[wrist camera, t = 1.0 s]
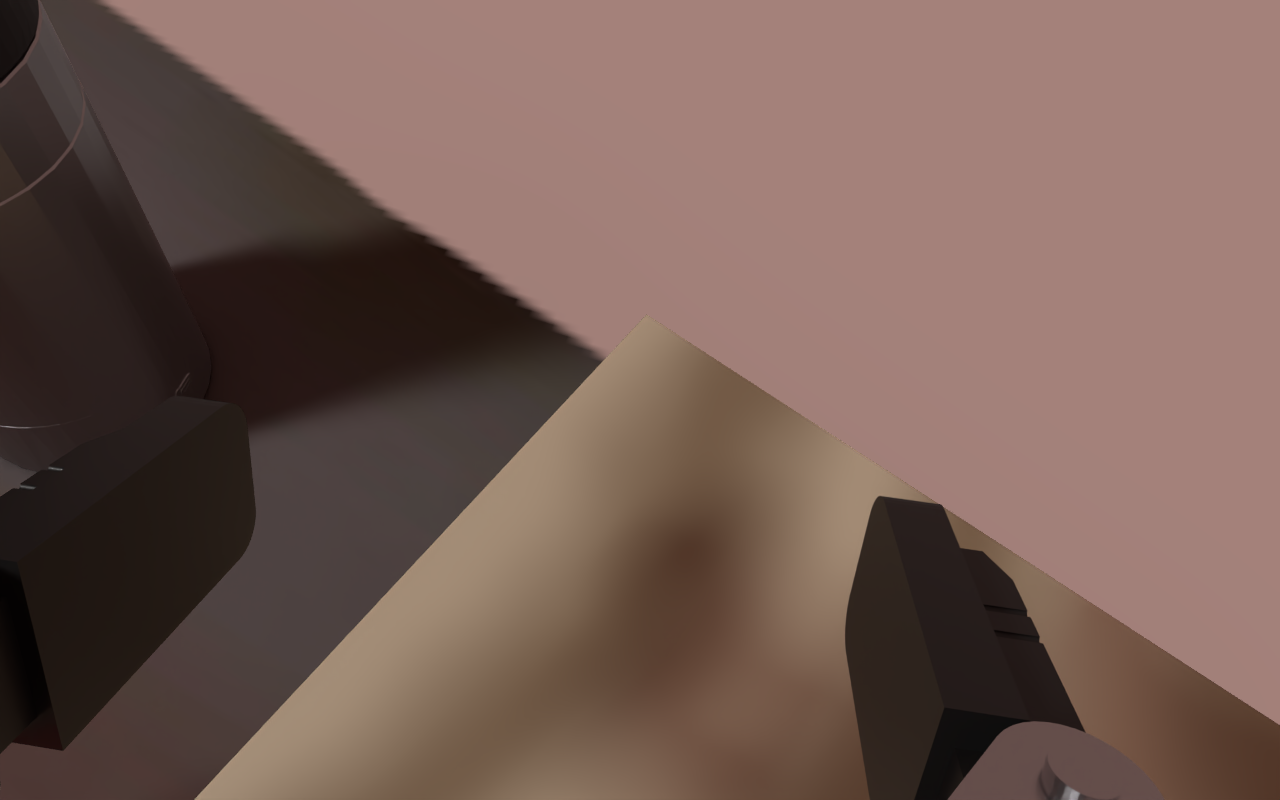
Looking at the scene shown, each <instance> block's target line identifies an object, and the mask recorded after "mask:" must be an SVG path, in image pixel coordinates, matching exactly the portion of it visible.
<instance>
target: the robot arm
mask: <svg viewBox="0 0 1280 800" xmlns="http://www.w3.org/2000/svg"><path fill="white" fill-rule="evenodd" d="M211 368H212V367H211V359H210V351H209V348H208V346H207V343H206V341H205V339H204V337H203V334H202V332H201V330H200V328H199V326H198V324H197V322H196V320H195V318H194V316H193V313H192V311H191V309H190V307H189V305H188V303H187V301H186V299H185V297H184V295H183V293H182V290H181V288H180V286H179V284H178V281H177V279H176V277H175V275H174V273H173V271H172V269H171V267H170V265H169V263H168V261H167V259H166V257H165V255H164V253H163V251H162V249H161V247H160V244H159V242H158V240H157V238H156V236H155V234H154V232H153V230H152V228H151V226H150V224H149V222H148V220H147V218H146V216H145V214H144V212H143V210H142V208H141V205H140V203H139V201H138V199H137V197H136V195H135V193H134V191H133V189H132V187H131V185H130V183H129V181H128V179H127V177H126V175H125V173H124V171H123V168H122V166H121V164H120V162H119V160H118V158H117V156H116V154H115V152H114V150H113V148H112V146H111V144H110V142H109V140H108V138H107V136H106V134H105V132H104V129H103V127H102V125H101V123H100V121H99V119H98V117H97V115H96V113H95V111H94V109H93V107H92V105H91V103H90V101H89V99H88V97H87V95H86V92H85V90H84V88H83V86H82V84H81V83H80V81H79V79H78V77H77V75H76V73H75V71H74V69H73V67H72V65H71V63H70V61H69V59H68V57H67V55H66V53H65V51H64V49H63V46H62V44H61V42H60V40H59V38H58V36H57V34H56V32H55V30H54V28H53V26H52V24H51V22H50V20H49V18H48V16H47V14H46V12H45V10H44V7H43V5H42V3H41V1H40V0H0V456H1V457H2V458H3V459H5V460H7V461H9V462H11V463H13V464H15V465H17V466H19V467H21V468H24V469H28V470H32V471H36V472H37V473H36V474H34V475H33V476H31V477H30V478H28V479H27V480H25V481H24V482H22V483H21V486H20V488H19V489H15V488H13V489H11V490H10V491H8V492H7V493H5V494H4V495H2V496H1V497H0V753H1V752H2V751H3V750H4V749H5V748H6V747H7V746H8V745H9V744H10V743H11V742H13V743H19V744H25V745H31V746H37V747H43V748H49V749H55V750H61V751H63V750H64V749H65V748H66V747H67V746H68V745H69V744H70V743H71V742H72V741H73V740H74V738H75V737H76V736H77V735H78V734H79V733H80V732H81V731H82V730H83V729H84V728H85V726H86V725H87V724H88V723H89V722H90V721H91V720H92V719H93V718H94V717H95V716H96V715H97V713H98V712H99V711H100V710H101V709H102V708H103V707H104V706H105V705H106V704H107V703H108V701H109V700H110V699H111V698H112V697H113V696H114V695H115V694H116V693H117V692H118V691H119V690H120V688H121V687H122V686H123V685H124V684H125V683H126V682H127V681H128V680H129V679H130V678H131V677H132V675H133V674H134V673H135V672H136V671H137V670H138V669H139V668H140V667H141V666H142V665H143V663H144V662H145V661H146V660H147V659H148V658H149V657H150V656H151V655H152V654H153V653H154V652H155V650H156V649H157V648H158V647H159V646H160V645H161V644H162V643H163V642H164V641H165V640H166V638H167V637H168V636H169V635H170V634H171V633H172V632H173V631H174V630H175V629H176V628H177V627H178V625H179V624H180V623H181V622H182V621H183V620H184V619H185V618H186V617H187V616H188V615H189V613H190V612H191V611H192V610H193V609H194V608H195V607H196V606H197V605H198V604H199V603H200V602H201V600H202V599H203V598H204V597H205V596H206V595H207V594H208V593H209V592H210V591H211V590H212V588H213V587H214V586H215V585H216V584H217V583H218V582H219V581H220V580H221V579H222V578H223V577H224V575H225V574H226V573H227V572H228V571H229V570H230V569H231V568H232V567H233V566H234V565H235V563H236V562H237V561H238V560H239V559H240V558H241V557H242V555H243V554H244V552H245V551H246V549H247V547H248V545H249V542H250V540H251V537H252V534H253V530H254V525H255V517H256V508H255V497H254V487H253V478H252V468H251V458H250V448H249V438H248V428H247V421H246V417H245V414H244V412H243V410H242V409H241V408H240V407H239V406H238V405H236V404H234V403H227V402H220V401H213V400H206V399H203V398H204V396H205V394H206V391H207V389H208V386H209V381H210V374H211ZM1027 611H1028V610H1027V608H1026V606H1025V604H1024V602H1023V600H1022V598H1021V596H1020V594H1019V592H1018V590H1017V587H1016V585H1015V583H1014V581H1013V580H1012V579H1011V578H1010V577H1009V576H1008V575H1007V574H1006V573H1005V572H1004V571H1003V570H1002V569H1001V568H1000V567H999V566H998V565H997V564H996V563H995V562H994V561H992V560H991V559H990V558H989V557H988V556H987V555H986V554H985V553H984V552H983V551H978V550H971V549H964V548H960V546H959V544H958V541H957V539H956V536H955V534H954V531H953V529H952V526H951V524H950V521H949V519H948V516H947V514H946V512H945V509H944V507H943V506H942V505H940V504H935V503H928V502H921V501H914V500H907V499H900V498H893V497H885V496H878V497H877V498H876V500H875V501H874V504H873V506H872V509H871V512H870V516H869V520H868V524H867V528H866V532H865V536H864V540H863V544H862V548H861V552H860V556H859V560H858V564H857V568H856V572H855V576H854V580H853V584H852V588H851V592H850V596H849V601H848V606H847V613H846V623H845V649H846V656H847V662H848V668H849V674H850V681H851V687H852V693H853V699H854V705H855V711H856V718H857V724H858V730H859V736H860V742H861V748H862V755H863V761H864V767H865V773H866V779H867V785H868V792H869V798H870V800H1164V798H1163V796H1162V794H1161V793H1160V791H1159V790H1158V788H1157V787H1156V785H1155V784H1154V783H1153V781H1152V780H1151V779H1150V778H1149V777H1148V776H1147V775H1146V774H1145V772H1144V771H1143V770H1142V769H1140V768H1139V767H1138V766H1137V765H1136V764H1135V763H1134V762H1133V761H1132V760H1130V759H1129V758H1128V757H1126V756H1125V755H1124V754H1122V753H1121V752H1120V751H1118V750H1117V749H1115V748H1114V747H1112V746H1110V745H1109V744H1107V743H1106V742H1104V741H1102V740H1100V739H1098V738H1096V737H1094V736H1092V735H1090V734H1088V733H1086V732H1085V730H1084V728H1083V726H1082V724H1081V722H1080V720H1079V717H1078V715H1077V713H1076V711H1075V709H1074V707H1073V705H1072V703H1071V701H1070V699H1069V696H1068V694H1067V692H1066V690H1065V688H1064V686H1063V684H1062V682H1061V680H1060V678H1059V675H1058V673H1057V671H1056V669H1055V667H1054V665H1053V663H1052V661H1051V659H1050V657H1049V655H1048V652H1047V650H1046V648H1045V646H1044V644H1043V643H1040V642H1039V639H1040V636H1039V634H1038V631H1037V629H1036V627H1035V625H1034V623H1033V621H1032V619H1031V617H1027ZM0 785H1V783H0Z"/></svg>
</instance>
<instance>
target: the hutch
mask: <svg viewBox="0 0 1280 800" xmlns="http://www.w3.org/2000/svg"><path fill="white" fill-rule="evenodd" d="M878 496H885V497H893V498H900V499H907V500H914V501H921V502H928V503H935V504H938V503H936V502H934V501H933V500H931V499H930V498H928V497H927V496H925V495H924V494H922V493H921V492H919V491H918V490H916V489H915V488H913V487H911V486H910V485H908V484H906V483H905V482H904V481H902V480H901V479H899V478H898V477H896V476H894V475H893V474H891V473H890V472H888V471H887V470H885V469H883V468H882V467H881V466H879V465H878V464H876V463H874V462H873V461H871V460H870V459H868V458H867V457H865V456H864V455H862V454H861V453H859V452H857V451H856V450H854V449H853V448H851V447H850V446H848V445H847V444H845V443H844V442H842V441H841V440H839V439H837V438H836V437H834V436H833V435H831V434H829V433H828V432H827V431H825V430H823V429H822V428H820V427H819V426H817V425H816V424H814V423H813V422H811V421H810V420H808V419H806V418H805V417H803V416H802V415H800V414H799V413H797V412H796V411H794V410H793V409H791V408H790V407H788V406H787V405H785V404H783V403H782V402H780V401H779V400H777V399H776V398H774V397H772V396H771V395H770V394H768V393H766V392H765V391H763V390H762V389H760V388H759V387H757V386H756V385H754V384H753V383H751V382H750V381H748V380H746V379H745V378H743V377H742V376H740V375H739V374H737V373H736V372H734V371H733V370H731V369H729V368H728V367H726V366H725V365H723V364H722V363H720V362H719V361H717V360H716V359H714V358H713V357H711V356H709V355H708V354H706V353H705V352H703V351H701V350H700V349H699V348H697V347H696V346H694V345H692V344H691V343H689V342H688V341H686V340H685V339H683V338H682V337H680V336H679V335H677V334H676V333H674V332H672V331H671V330H669V329H668V328H666V327H665V326H663V325H662V324H660V323H659V322H657V321H656V320H654V319H652V318H651V317H649V316H648V315H646V316H645V317H644V318H643V319H642V320H641V321H640V322H639V323H638V324H637V326H636V327H635V328H634V329H633V330H632V331H631V332H630V333H629V334H628V335H627V336H626V337H625V338H624V339H623V341H622V342H621V343H620V344H619V345H618V346H617V347H616V348H615V349H614V350H613V351H612V352H611V353H610V354H609V355H608V356H607V358H606V359H605V360H604V361H603V362H602V363H601V364H600V365H599V366H598V367H597V368H596V369H595V370H594V371H593V373H592V374H591V375H590V376H589V377H588V378H587V379H586V380H585V381H584V382H583V383H582V384H581V385H580V387H579V388H578V389H577V390H576V391H575V392H574V393H573V394H572V395H571V396H570V397H569V398H568V399H567V400H566V402H565V403H564V404H563V405H562V406H561V407H560V408H559V409H558V410H557V411H556V412H555V413H554V414H553V415H552V417H551V418H550V419H549V420H548V421H547V422H546V423H545V424H544V425H543V426H542V427H541V428H540V429H539V430H538V432H537V433H536V434H535V435H534V436H533V437H532V438H531V439H530V440H529V441H528V442H527V443H526V444H525V445H524V447H523V448H522V449H521V450H520V451H519V452H518V453H517V454H516V455H515V456H514V457H513V458H512V459H511V461H510V462H509V463H508V464H507V465H506V466H505V467H504V468H503V469H502V470H501V471H500V472H499V473H498V474H497V476H496V477H495V478H494V479H493V480H492V481H491V482H490V483H489V484H488V485H487V486H486V487H485V488H484V489H483V491H482V492H481V493H480V494H479V495H478V496H477V497H476V498H475V499H474V500H473V501H472V502H471V503H470V504H469V506H468V507H467V508H466V509H465V510H464V511H463V512H462V513H461V514H460V515H459V516H458V517H457V518H456V520H455V521H454V522H453V523H452V524H451V525H450V526H449V527H448V528H447V529H446V530H445V531H444V532H443V533H442V535H441V536H440V537H439V538H438V539H437V540H436V541H435V542H434V543H433V544H432V545H431V546H430V547H429V548H428V550H427V551H426V552H425V553H424V554H423V555H422V556H421V557H420V558H419V559H418V560H417V561H416V562H415V563H414V565H413V566H412V567H411V568H410V569H409V570H408V571H407V572H406V573H405V574H404V575H403V576H402V577H401V578H400V580H399V581H398V582H397V583H396V584H395V585H394V586H393V587H392V588H391V589H390V590H389V591H388V592H387V594H386V595H385V596H384V597H383V598H382V599H381V600H380V601H379V602H378V603H377V604H376V605H375V606H374V607H373V609H372V610H371V611H370V612H369V613H368V614H367V615H366V616H365V617H364V618H363V619H362V620H361V621H360V622H359V624H358V625H357V626H356V627H355V628H354V629H353V630H352V631H351V632H350V633H349V634H348V635H347V636H346V637H345V639H344V640H343V641H342V642H341V643H340V644H339V645H338V646H337V647H336V648H335V649H334V650H333V651H332V652H331V654H330V655H329V656H328V657H327V658H326V659H325V660H324V661H323V662H322V663H321V664H320V665H319V666H318V668H317V669H316V670H315V671H314V672H313V673H312V674H311V675H310V676H309V677H308V678H307V679H306V680H305V681H304V683H303V684H302V685H301V686H300V687H299V688H298V689H297V690H296V691H295V692H294V693H293V694H292V695H291V696H290V698H289V699H288V700H287V701H286V702H285V703H284V704H283V705H282V706H281V707H280V708H279V709H278V710H277V711H276V713H275V714H274V715H273V716H272V717H271V718H270V719H269V720H268V721H267V722H266V723H265V724H264V725H263V726H262V728H261V729H260V730H259V731H258V732H257V733H256V734H255V735H254V736H253V737H252V738H251V739H250V740H249V742H248V743H247V744H246V745H245V746H244V747H243V748H242V749H241V750H240V751H239V752H238V753H237V754H236V755H235V757H234V758H233V759H232V760H231V761H230V762H229V763H228V764H227V765H226V766H225V767H224V768H223V769H222V770H221V772H220V773H219V774H218V775H217V776H216V777H215V778H214V779H213V780H212V781H211V782H210V783H209V784H208V785H207V787H206V788H205V789H204V790H203V791H202V792H201V793H200V794H199V795H198V796H197V797H196V798H195V799H194V800H870V798H869V792H868V785H867V779H866V773H865V767H864V761H863V755H862V748H861V742H860V736H859V730H858V724H857V718H856V711H855V705H854V699H853V693H852V687H851V681H850V674H849V668H848V662H847V656H846V649H845V623H846V613H847V606H848V601H849V596H850V592H851V588H852V584H853V580H854V576H855V572H856V568H857V564H858V560H859V556H860V552H861V548H862V544H863V540H864V536H865V532H866V528H867V524H868V520H869V516H870V512H871V509H872V506H873V504H874V501H875V500H876V498H877V497H878ZM944 509H945V508H944ZM945 512H946V514H947V516H948V519H949V521H950V524H951V526H952V529H953V531H954V534H955V536H956V539H957V541H958V544H959V546H960V548H964V549H971V550H978V551H983V552H984V553H985V554H986V555H987V556H988V557H989V558H990V559H991V560H992V561H994V562H995V563H996V564H997V565H998V566H999V567H1000V568H1001V569H1002V570H1003V571H1004V572H1005V573H1006V574H1007V575H1008V576H1009V577H1010V578H1011V579H1012V580H1013V581H1014V583H1015V585H1016V587H1017V590H1018V592H1019V594H1020V596H1021V598H1022V600H1023V602H1024V604H1025V606H1026V608H1027V610H1028V611H1027V617H1031V619H1032V621H1033V623H1034V625H1035V627H1036V629H1037V631H1038V634H1039V636H1040V639H1039V642H1040V643H1043V644H1044V646H1045V648H1046V650H1047V652H1048V655H1049V657H1050V659H1051V661H1052V663H1053V665H1054V667H1055V669H1056V671H1057V673H1058V675H1059V678H1060V680H1061V682H1062V684H1063V686H1064V688H1065V690H1066V692H1067V694H1068V696H1069V699H1070V701H1071V703H1072V705H1073V707H1074V709H1075V711H1076V713H1077V715H1078V717H1079V720H1080V722H1081V724H1082V726H1083V728H1084V730H1085V732H1086V733H1088V734H1090V735H1092V736H1094V737H1096V738H1098V739H1100V740H1102V741H1104V742H1106V743H1107V744H1109V745H1110V746H1112V747H1114V748H1115V749H1117V750H1118V751H1120V752H1121V753H1122V754H1124V755H1125V756H1126V757H1128V758H1129V759H1130V760H1132V761H1133V762H1134V763H1135V764H1136V765H1137V766H1138V767H1139V768H1140V769H1142V770H1143V771H1144V772H1145V774H1146V775H1147V776H1148V777H1149V778H1150V779H1151V780H1152V781H1153V783H1154V784H1155V785H1156V787H1157V788H1158V790H1159V791H1160V793H1161V794H1162V796H1163V798H1164V800H1280V725H1278V724H1277V723H1275V722H1274V721H1272V720H1271V719H1269V718H1268V717H1266V716H1264V715H1263V714H1261V713H1260V712H1258V711H1257V710H1255V709H1254V708H1252V707H1251V706H1249V705H1248V704H1246V703H1244V702H1243V701H1241V700H1240V699H1238V698H1237V697H1235V696H1234V695H1232V694H1231V693H1229V692H1227V691H1226V690H1224V689H1223V688H1221V687H1220V686H1218V685H1217V684H1215V683H1214V682H1212V681H1211V680H1209V679H1207V678H1206V677H1204V676H1203V675H1201V674H1200V673H1198V672H1197V671H1195V670H1194V669H1192V668H1190V667H1189V666H1187V665H1186V664H1184V663H1183V662H1181V661H1180V660H1178V659H1176V658H1175V657H1174V656H1172V655H1170V654H1169V653H1167V652H1166V651H1164V650H1163V649H1161V648H1159V647H1158V646H1156V645H1155V644H1153V643H1152V642H1150V641H1149V640H1147V639H1146V638H1144V637H1143V636H1141V635H1140V634H1138V633H1136V632H1135V631H1133V630H1132V629H1130V628H1129V627H1127V626H1125V625H1124V624H1123V623H1121V622H1119V621H1118V620H1116V619H1115V618H1113V617H1112V616H1110V615H1109V614H1107V613H1106V612H1104V611H1103V610H1101V609H1099V608H1098V607H1096V606H1095V605H1093V604H1092V603H1090V602H1089V601H1087V600H1086V599H1084V598H1083V597H1081V596H1079V595H1078V594H1076V593H1075V592H1073V591H1072V590H1070V589H1069V588H1067V587H1066V586H1064V585H1063V584H1061V583H1059V582H1058V581H1056V580H1055V579H1053V578H1052V577H1050V576H1049V575H1047V574H1045V573H1044V572H1042V571H1041V570H1039V569H1038V568H1036V567H1035V566H1033V565H1032V564H1030V563H1029V562H1027V561H1025V560H1024V559H1022V558H1021V557H1019V556H1018V555H1016V554H1015V553H1013V552H1012V551H1010V550H1009V549H1007V548H1005V547H1004V546H1002V545H1001V544H999V543H998V542H996V541H995V540H993V539H992V538H990V537H988V536H987V535H985V534H984V533H982V532H981V531H979V530H978V529H976V528H975V527H973V526H971V525H970V524H968V523H967V522H965V521H964V520H962V519H961V518H959V517H957V516H956V515H955V514H953V513H951V512H950V511H948V510H947V509H945Z"/></svg>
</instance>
